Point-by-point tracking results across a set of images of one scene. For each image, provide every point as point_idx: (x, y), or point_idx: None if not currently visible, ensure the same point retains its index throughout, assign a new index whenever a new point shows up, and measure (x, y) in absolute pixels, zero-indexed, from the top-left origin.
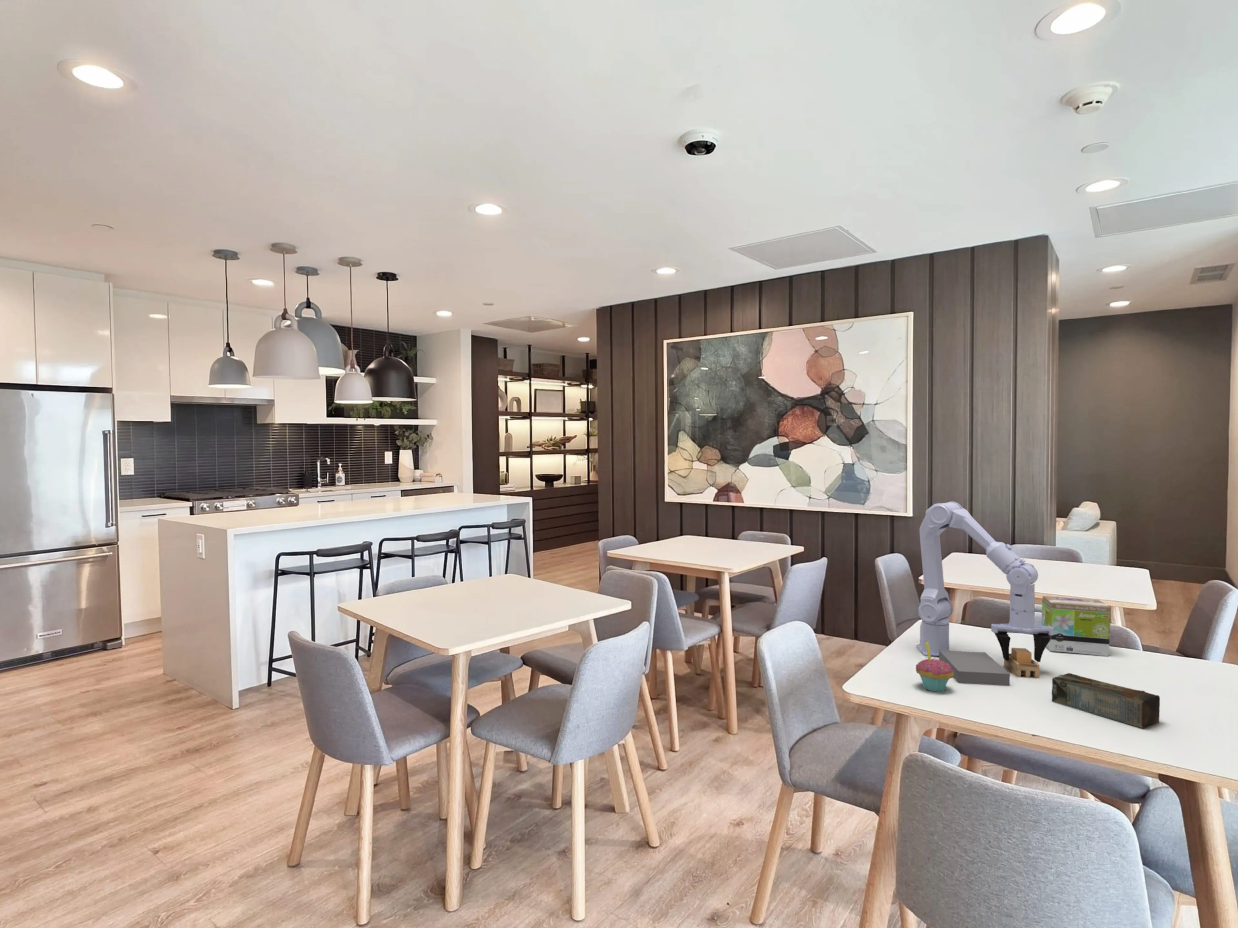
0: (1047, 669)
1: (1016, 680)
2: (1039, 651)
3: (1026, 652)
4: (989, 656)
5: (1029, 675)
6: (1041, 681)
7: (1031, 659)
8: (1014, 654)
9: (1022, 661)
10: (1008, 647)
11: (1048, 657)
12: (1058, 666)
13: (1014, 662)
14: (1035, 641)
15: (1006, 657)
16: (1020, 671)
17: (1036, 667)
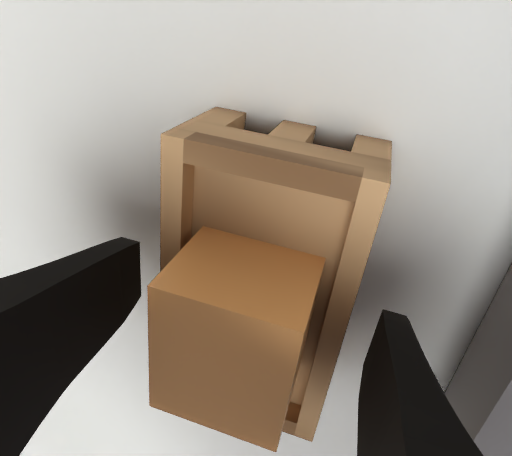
0: None
1: (473, 29)
2: (59, 281)
3: (198, 304)
4: (482, 434)
5: (284, 124)
6: (240, 10)
7: None
8: (300, 354)
9: (272, 254)
10: (409, 417)
11: None
12: None
13: (370, 243)
14: (11, 425)
15: (412, 332)
16: (355, 149)
17: (201, 130)
